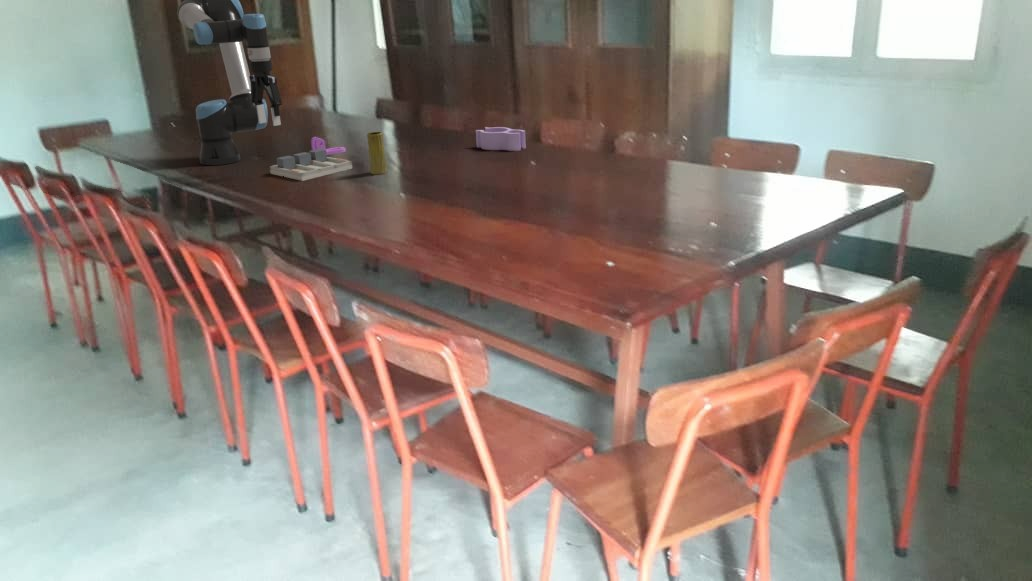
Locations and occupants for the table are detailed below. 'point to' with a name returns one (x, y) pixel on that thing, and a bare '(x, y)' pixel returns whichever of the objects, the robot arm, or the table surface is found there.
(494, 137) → the clip
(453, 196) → the table surface
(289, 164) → the slider
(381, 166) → the vase
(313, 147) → the bracket
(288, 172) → the switch board
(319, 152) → the slider
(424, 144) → the table surface
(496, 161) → the table surface
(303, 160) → the slider
